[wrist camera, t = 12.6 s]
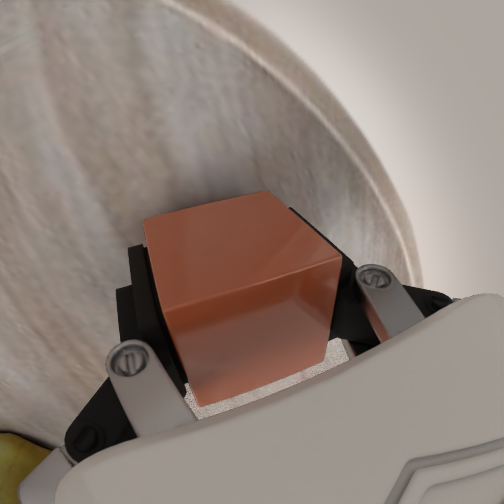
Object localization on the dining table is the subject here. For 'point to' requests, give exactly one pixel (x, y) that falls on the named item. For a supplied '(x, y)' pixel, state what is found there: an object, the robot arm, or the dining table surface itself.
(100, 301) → the dining table surface
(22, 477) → the mug
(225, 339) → the block
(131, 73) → the dining table surface
